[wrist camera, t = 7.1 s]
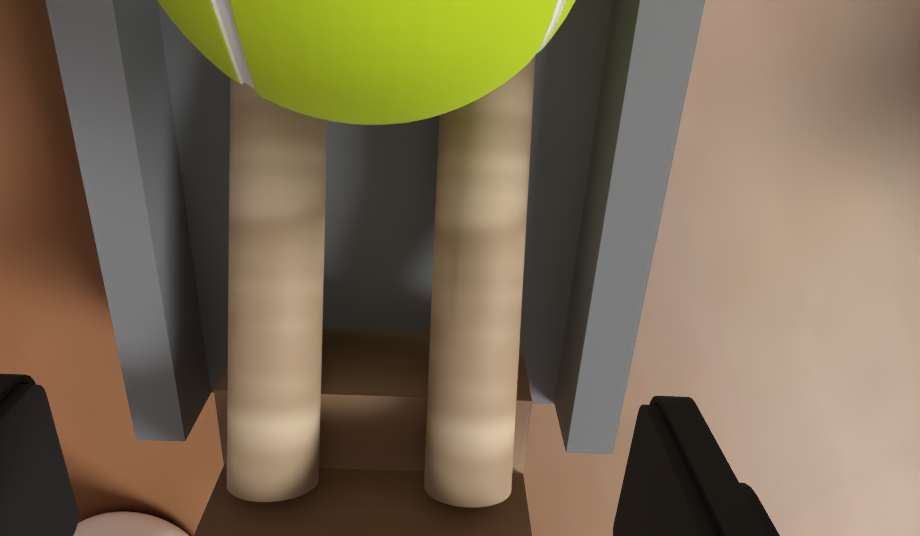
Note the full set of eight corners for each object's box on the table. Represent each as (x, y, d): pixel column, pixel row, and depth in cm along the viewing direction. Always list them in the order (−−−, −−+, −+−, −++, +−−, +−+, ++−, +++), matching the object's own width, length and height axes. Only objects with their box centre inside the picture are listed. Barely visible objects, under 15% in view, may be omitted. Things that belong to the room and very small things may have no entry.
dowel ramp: (503, 393, 21) (533, 628, 14) (274, 385, 20) (182, 622, 13) (551, -73, 15) (648, -94, 8) (234, -93, 15) (32, -133, 8)
